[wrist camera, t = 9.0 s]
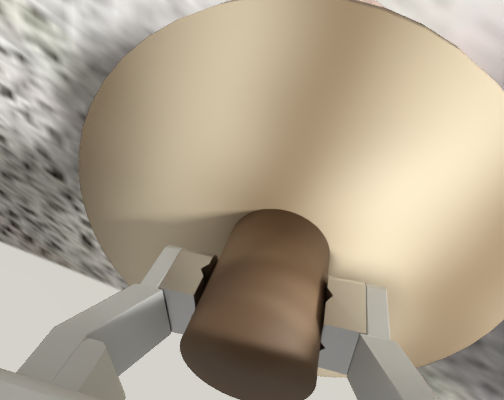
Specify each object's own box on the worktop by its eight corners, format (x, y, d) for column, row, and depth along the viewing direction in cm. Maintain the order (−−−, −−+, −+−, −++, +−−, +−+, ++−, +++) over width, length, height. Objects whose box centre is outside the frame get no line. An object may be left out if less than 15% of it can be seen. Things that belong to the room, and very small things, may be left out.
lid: (678, 3, 6) (1179, 79, 3) (440, 387, 15) (469, 549, 11) (40, -16, 9) (-200, 6, 5) (136, 314, 17) (70, 421, 13)
